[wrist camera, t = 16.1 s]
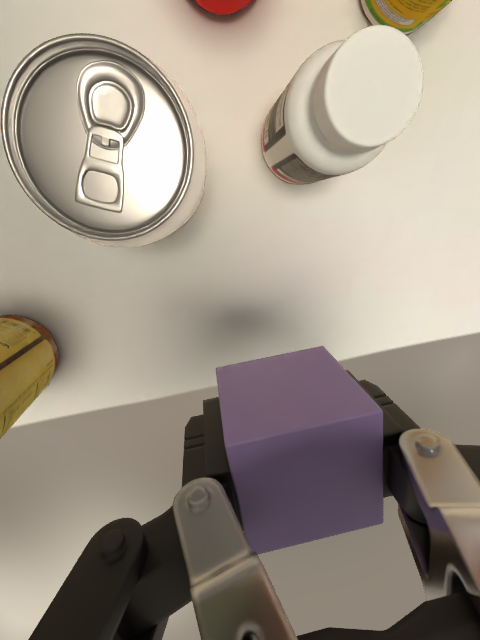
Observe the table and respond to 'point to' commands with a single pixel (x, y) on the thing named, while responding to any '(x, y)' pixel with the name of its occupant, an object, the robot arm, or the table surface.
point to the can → (103, 140)
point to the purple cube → (301, 448)
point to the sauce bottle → (23, 366)
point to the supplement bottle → (402, 12)
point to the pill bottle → (343, 106)
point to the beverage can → (222, 6)
